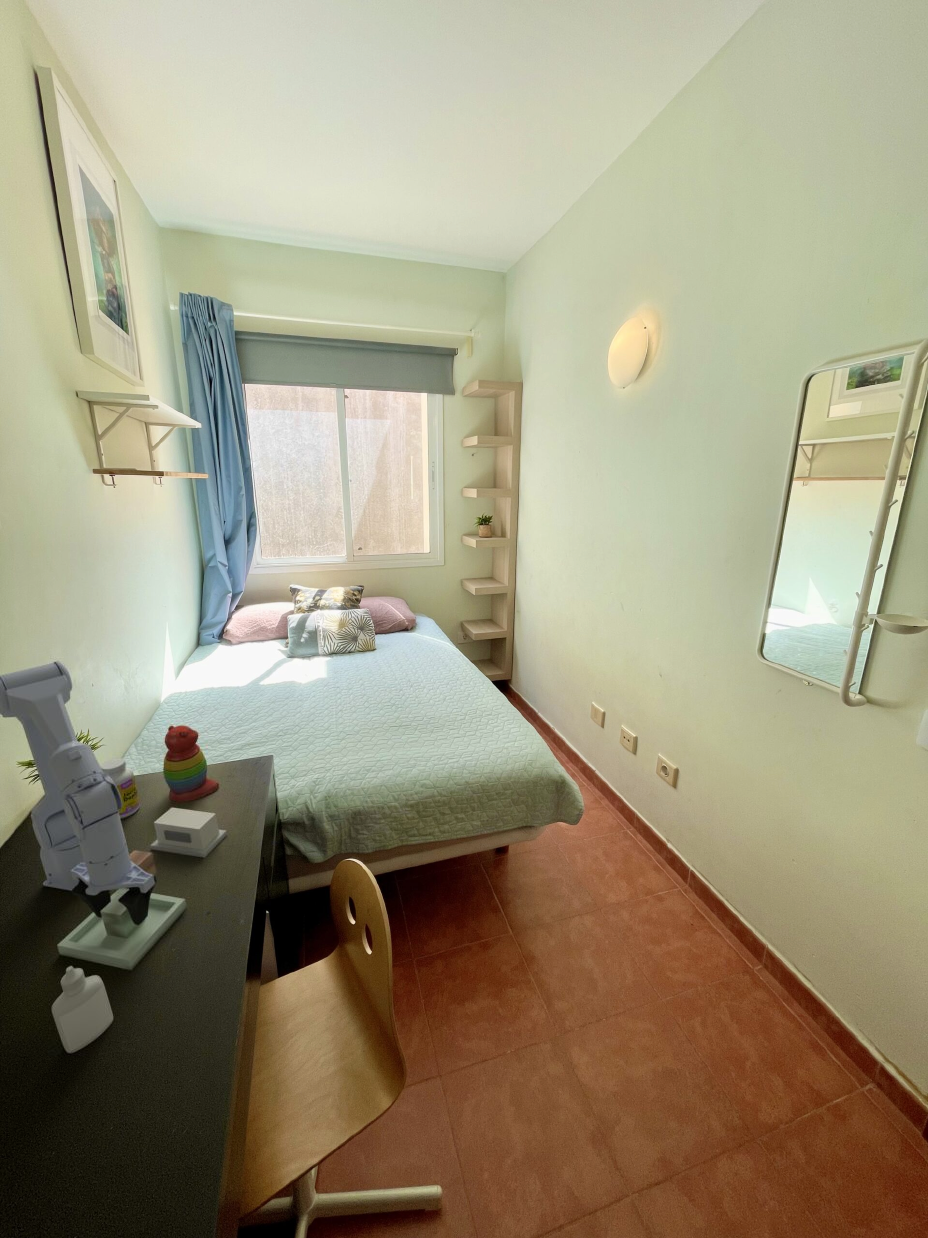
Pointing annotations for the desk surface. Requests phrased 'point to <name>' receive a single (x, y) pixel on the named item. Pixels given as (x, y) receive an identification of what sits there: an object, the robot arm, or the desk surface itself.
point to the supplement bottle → (123, 785)
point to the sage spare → (117, 919)
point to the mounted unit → (187, 832)
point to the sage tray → (117, 951)
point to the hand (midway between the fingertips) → (122, 916)
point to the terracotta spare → (144, 861)
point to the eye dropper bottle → (81, 1009)
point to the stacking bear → (186, 766)
